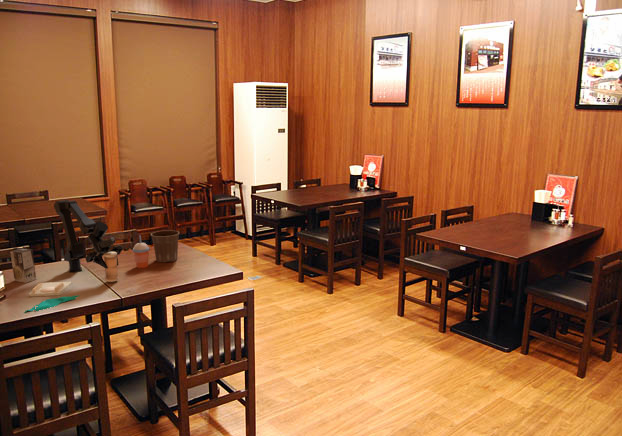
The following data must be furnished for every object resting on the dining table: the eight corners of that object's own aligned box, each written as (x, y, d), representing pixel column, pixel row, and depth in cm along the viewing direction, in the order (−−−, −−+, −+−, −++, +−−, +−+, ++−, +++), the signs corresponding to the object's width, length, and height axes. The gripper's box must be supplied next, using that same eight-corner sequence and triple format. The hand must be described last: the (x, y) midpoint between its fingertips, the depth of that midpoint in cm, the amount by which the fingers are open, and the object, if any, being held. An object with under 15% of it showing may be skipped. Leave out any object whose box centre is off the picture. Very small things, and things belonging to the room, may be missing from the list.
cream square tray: (43, 284, 257) (42, 278, 256) (72, 284, 258) (71, 278, 257) (29, 296, 241) (28, 289, 240) (59, 295, 242) (58, 288, 242)
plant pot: (159, 255, 308) (158, 229, 305) (185, 256, 306) (183, 230, 302) (147, 263, 292) (145, 236, 289) (174, 264, 290) (172, 236, 287)
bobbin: (104, 278, 262) (102, 252, 259) (117, 276, 265) (116, 251, 262) (105, 282, 257) (103, 256, 253) (119, 280, 259) (117, 254, 256)
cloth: (77, 293, 246) (76, 289, 245) (87, 301, 236) (87, 297, 236) (17, 307, 229) (16, 303, 228) (25, 316, 219) (24, 311, 218)
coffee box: (37, 279, 265) (33, 249, 262) (25, 283, 260) (21, 252, 256) (25, 277, 269) (21, 247, 266) (13, 280, 263) (9, 250, 260)
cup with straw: (145, 269, 281) (143, 237, 277) (130, 268, 283) (128, 237, 279) (153, 264, 290) (151, 233, 286) (139, 263, 292) (136, 233, 288)
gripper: (86, 237, 250) (101, 262, 247) (119, 229, 265) (134, 253, 261) (79, 250, 256) (93, 274, 253) (111, 242, 271) (126, 265, 268)
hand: (112, 266), depth 258 cm, fingers closed on bobbin, 6 cm apart
